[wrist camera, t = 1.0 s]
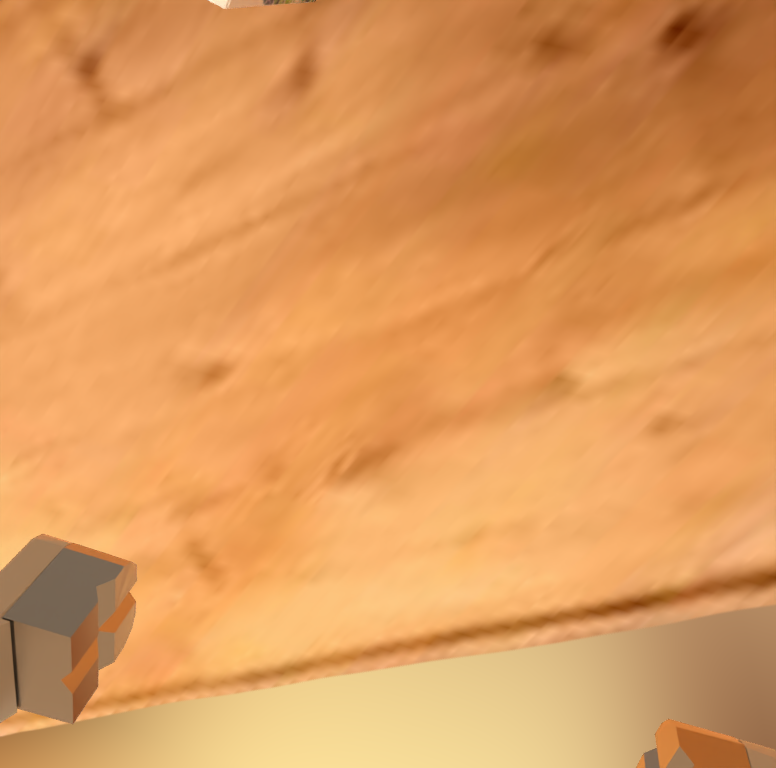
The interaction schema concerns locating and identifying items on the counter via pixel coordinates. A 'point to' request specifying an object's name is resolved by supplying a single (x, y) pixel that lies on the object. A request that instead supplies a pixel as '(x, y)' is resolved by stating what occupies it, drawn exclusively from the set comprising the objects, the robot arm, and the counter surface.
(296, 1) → the syrup box
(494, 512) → the counter surface
